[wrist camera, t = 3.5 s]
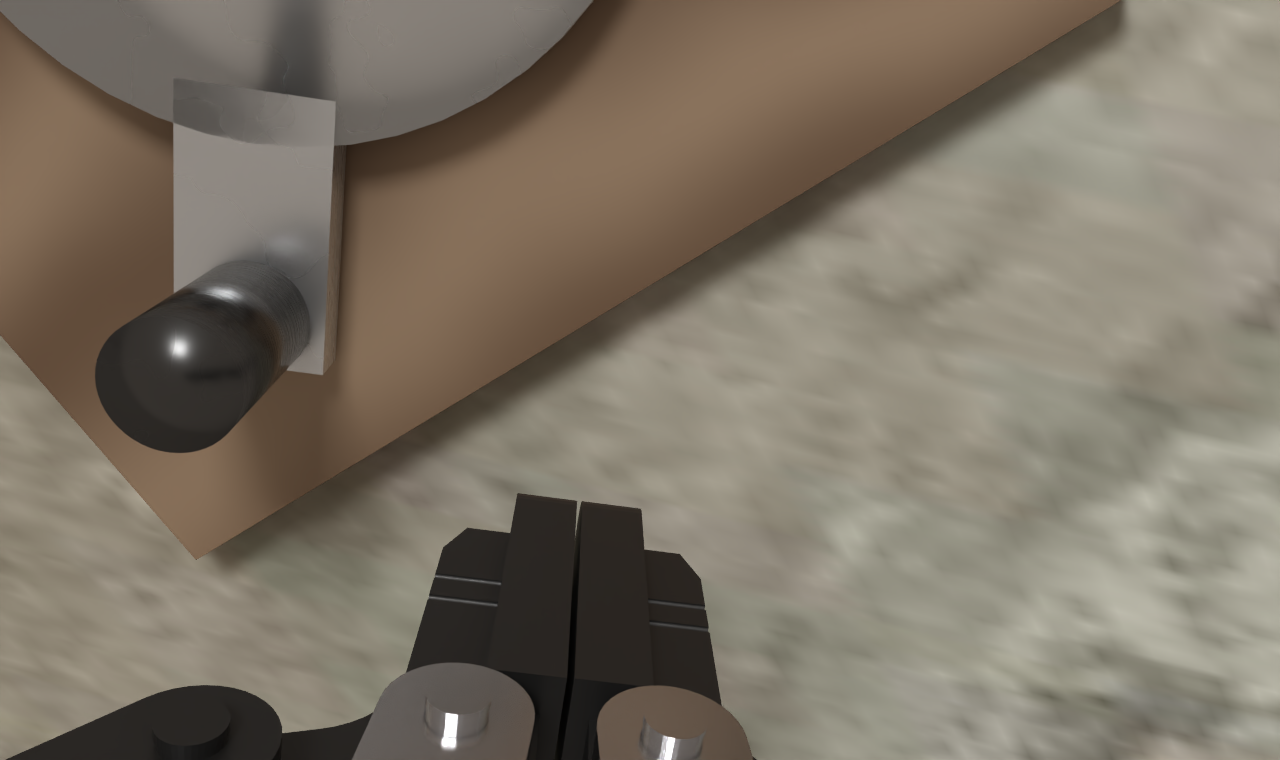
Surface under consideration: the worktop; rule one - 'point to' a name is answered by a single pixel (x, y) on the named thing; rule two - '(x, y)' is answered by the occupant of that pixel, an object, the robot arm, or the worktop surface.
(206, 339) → the pot lid with knob
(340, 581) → the worktop surface
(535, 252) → the walnut board
